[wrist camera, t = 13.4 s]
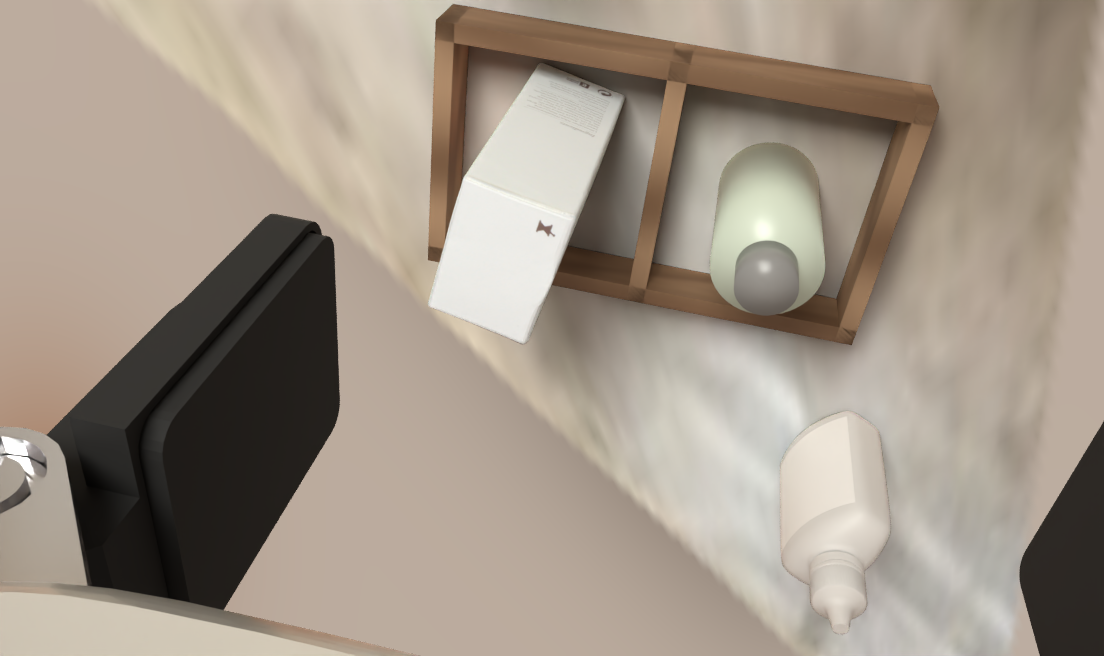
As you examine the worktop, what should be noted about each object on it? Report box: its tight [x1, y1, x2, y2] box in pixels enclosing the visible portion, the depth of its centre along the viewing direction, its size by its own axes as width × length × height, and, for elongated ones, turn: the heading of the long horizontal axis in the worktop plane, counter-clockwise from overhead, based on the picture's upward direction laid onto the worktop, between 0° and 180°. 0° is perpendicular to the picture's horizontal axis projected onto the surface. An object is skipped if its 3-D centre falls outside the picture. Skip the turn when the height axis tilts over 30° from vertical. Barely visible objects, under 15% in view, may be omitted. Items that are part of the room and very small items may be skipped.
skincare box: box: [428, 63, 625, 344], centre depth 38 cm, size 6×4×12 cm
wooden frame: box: [428, 4, 939, 345], centre depth 41 cm, size 12×20×2 cm, turn 83°
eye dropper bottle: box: [780, 411, 891, 634], centre depth 44 cm, size 4×6×12 cm
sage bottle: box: [710, 143, 825, 316], centre depth 38 cm, size 4×4×9 cm
